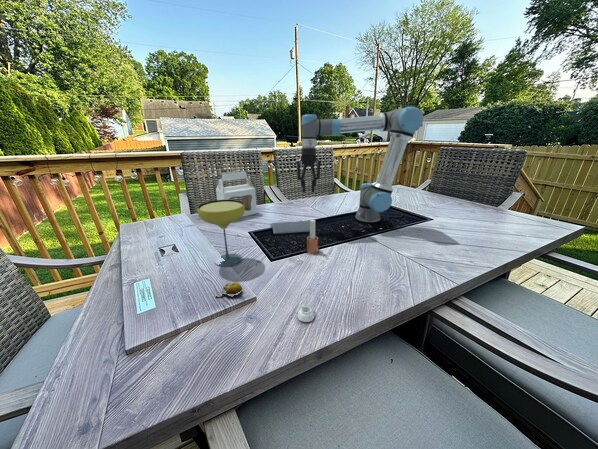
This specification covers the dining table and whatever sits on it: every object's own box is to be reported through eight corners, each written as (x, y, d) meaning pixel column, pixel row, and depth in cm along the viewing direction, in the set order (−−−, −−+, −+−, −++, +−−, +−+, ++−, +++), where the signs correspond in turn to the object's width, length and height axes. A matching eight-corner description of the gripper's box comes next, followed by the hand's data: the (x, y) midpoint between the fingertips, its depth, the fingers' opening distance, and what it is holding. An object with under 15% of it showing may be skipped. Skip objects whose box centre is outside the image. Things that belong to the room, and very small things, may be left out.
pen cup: (316, 248, 117) (316, 235, 115) (319, 253, 113) (319, 239, 110) (305, 249, 117) (305, 236, 114) (307, 254, 112) (308, 240, 109)
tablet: (309, 222, 152) (309, 220, 152) (315, 232, 136) (315, 230, 136) (271, 224, 149) (271, 222, 148) (273, 235, 133) (273, 233, 133)
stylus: (314, 249, 116) (314, 219, 110) (315, 251, 114) (316, 221, 108) (309, 249, 115) (309, 219, 110) (310, 252, 113) (310, 221, 108)
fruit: (227, 283, 91) (226, 275, 89) (247, 287, 88) (246, 279, 87) (213, 297, 83) (211, 288, 82) (234, 302, 81) (233, 292, 80)
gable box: (248, 209, 178) (245, 169, 169) (257, 213, 169) (254, 172, 159) (218, 215, 166) (213, 173, 156) (226, 220, 156) (221, 175, 146)
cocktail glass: (226, 276, 96) (218, 215, 87) (196, 263, 105) (187, 207, 96) (257, 257, 110) (253, 203, 101) (228, 247, 119) (222, 197, 110)
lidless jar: (300, 309, 77) (295, 320, 73) (300, 302, 76) (294, 312, 72) (316, 313, 76) (311, 324, 71) (316, 305, 75) (311, 316, 70)
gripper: (293, 148, 122) (293, 194, 130) (327, 147, 124) (325, 193, 133) (291, 147, 129) (291, 191, 137) (323, 146, 131) (322, 189, 140)
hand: (308, 192), depth 135 cm, fingers open, 4 cm apart
